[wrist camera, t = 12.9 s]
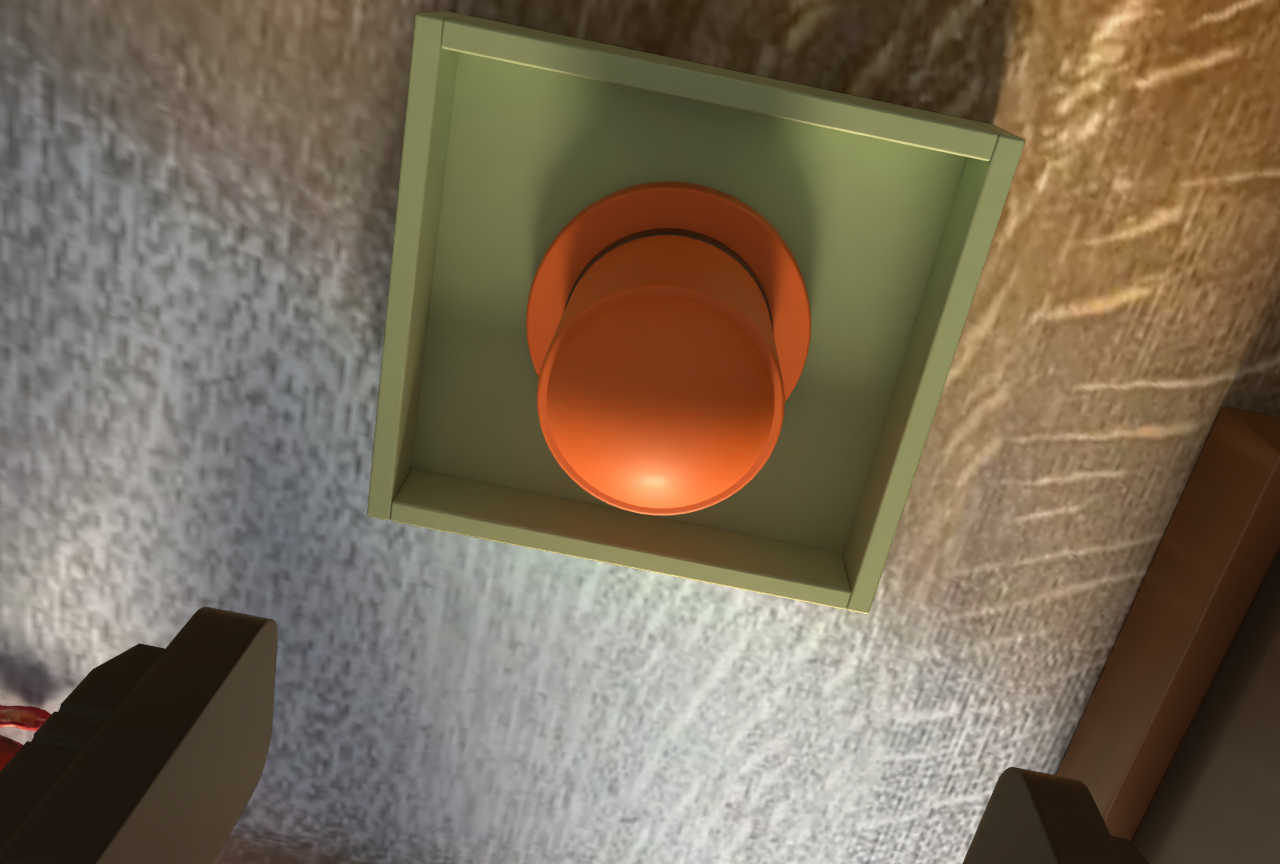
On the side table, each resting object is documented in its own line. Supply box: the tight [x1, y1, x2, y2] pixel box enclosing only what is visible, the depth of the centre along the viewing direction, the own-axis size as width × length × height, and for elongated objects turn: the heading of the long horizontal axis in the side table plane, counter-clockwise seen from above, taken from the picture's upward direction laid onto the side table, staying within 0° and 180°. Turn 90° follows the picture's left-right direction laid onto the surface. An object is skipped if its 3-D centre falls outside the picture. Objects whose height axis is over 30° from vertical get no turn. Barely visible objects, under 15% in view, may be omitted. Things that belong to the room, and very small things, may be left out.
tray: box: [367, 11, 1025, 614], centre depth 26 cm, size 13×12×3 cm
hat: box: [526, 182, 811, 515], centre depth 23 cm, size 7×7×7 cm
